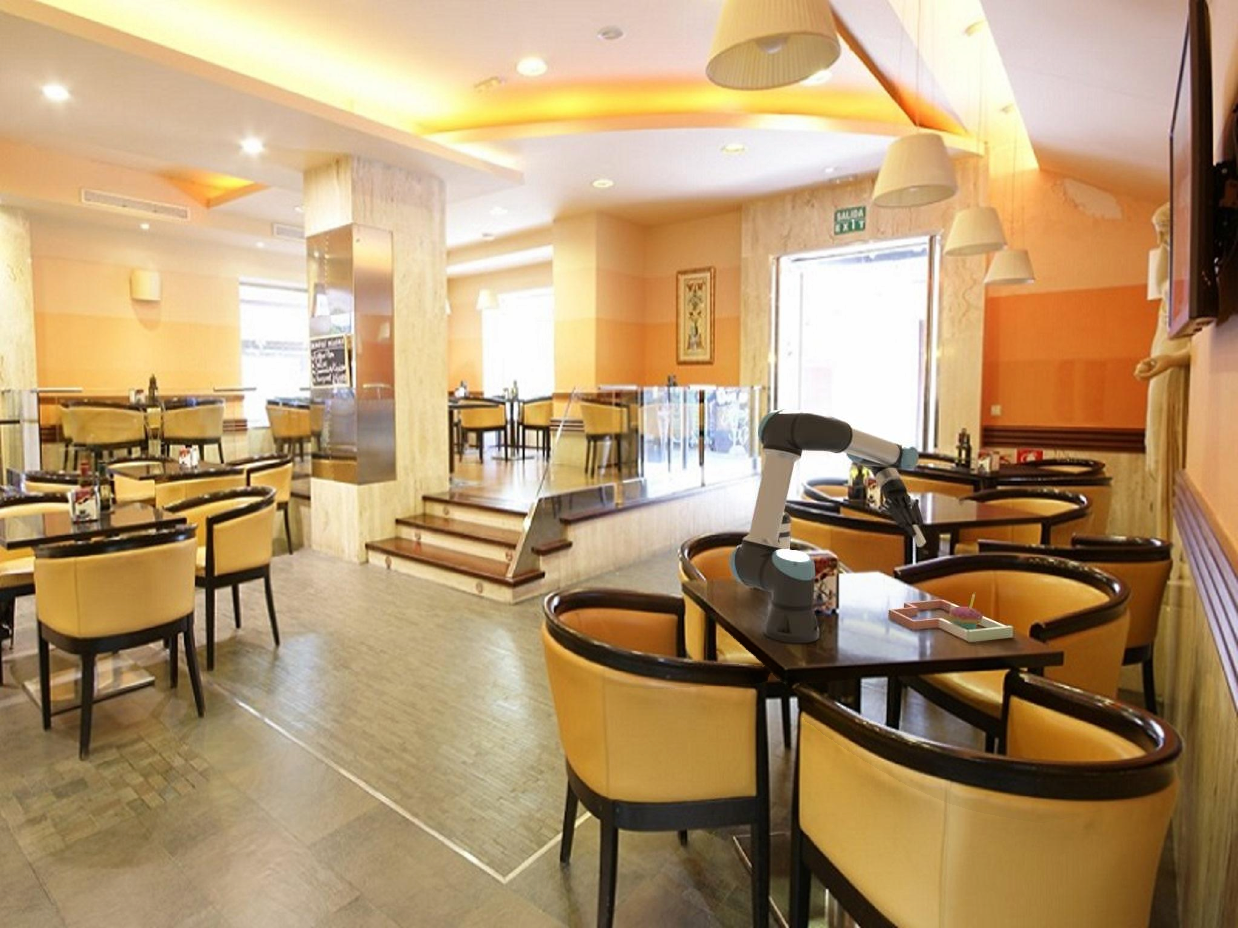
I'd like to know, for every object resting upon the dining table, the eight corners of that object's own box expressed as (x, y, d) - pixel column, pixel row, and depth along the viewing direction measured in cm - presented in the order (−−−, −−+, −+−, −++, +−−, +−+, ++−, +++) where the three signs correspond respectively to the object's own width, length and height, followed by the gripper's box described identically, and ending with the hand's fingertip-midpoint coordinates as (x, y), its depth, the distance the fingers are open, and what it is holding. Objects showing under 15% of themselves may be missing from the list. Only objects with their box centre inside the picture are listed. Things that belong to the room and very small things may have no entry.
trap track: (942, 644, 189) (943, 634, 188) (879, 612, 216) (879, 603, 215) (1012, 637, 195) (1013, 626, 194) (942, 606, 222) (942, 597, 221)
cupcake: (983, 630, 200) (986, 589, 199) (978, 638, 194) (981, 597, 192) (951, 624, 205) (953, 584, 204) (945, 632, 199) (947, 591, 197)
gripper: (902, 490, 235) (933, 549, 221) (868, 491, 232) (898, 551, 218) (913, 477, 230) (946, 536, 215) (879, 478, 226) (910, 538, 212)
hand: (921, 544), depth 217 cm, fingers closed
